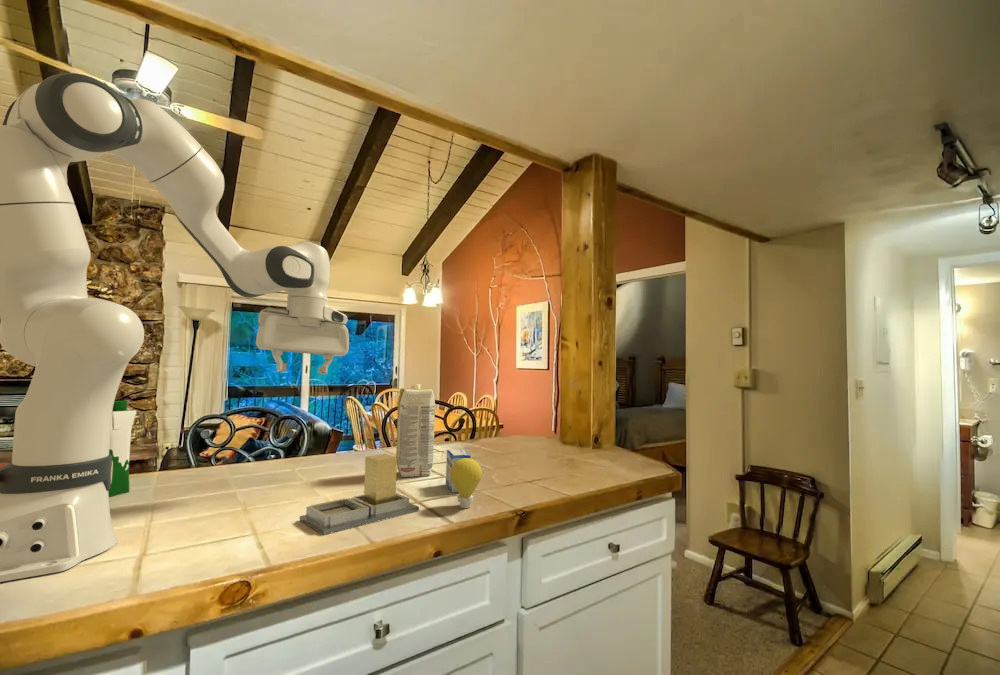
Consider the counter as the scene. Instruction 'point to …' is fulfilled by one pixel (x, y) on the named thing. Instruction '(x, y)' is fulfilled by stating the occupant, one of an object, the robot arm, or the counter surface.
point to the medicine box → (453, 457)
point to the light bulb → (466, 479)
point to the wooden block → (380, 479)
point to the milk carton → (120, 446)
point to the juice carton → (415, 431)
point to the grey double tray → (353, 513)
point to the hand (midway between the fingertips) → (302, 372)
